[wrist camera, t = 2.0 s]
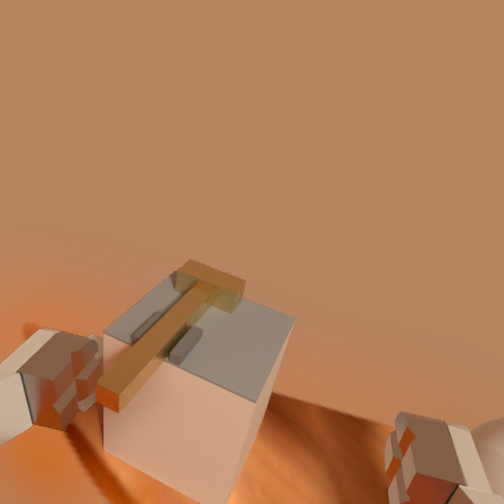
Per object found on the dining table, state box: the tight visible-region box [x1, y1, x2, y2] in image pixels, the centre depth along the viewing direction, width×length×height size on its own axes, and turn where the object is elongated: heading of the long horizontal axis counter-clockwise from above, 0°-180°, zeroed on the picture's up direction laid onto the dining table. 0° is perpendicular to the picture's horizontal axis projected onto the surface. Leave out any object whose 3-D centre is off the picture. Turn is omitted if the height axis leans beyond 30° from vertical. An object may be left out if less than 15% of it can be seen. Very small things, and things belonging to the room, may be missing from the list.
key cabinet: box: [103, 271, 295, 504], centre depth 61 cm, size 22×18×28 cm
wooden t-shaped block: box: [95, 260, 246, 414], centre depth 50 cm, size 10×26×4 cm, turn 159°
